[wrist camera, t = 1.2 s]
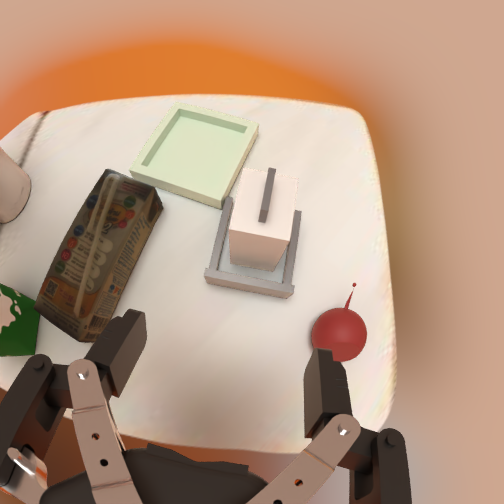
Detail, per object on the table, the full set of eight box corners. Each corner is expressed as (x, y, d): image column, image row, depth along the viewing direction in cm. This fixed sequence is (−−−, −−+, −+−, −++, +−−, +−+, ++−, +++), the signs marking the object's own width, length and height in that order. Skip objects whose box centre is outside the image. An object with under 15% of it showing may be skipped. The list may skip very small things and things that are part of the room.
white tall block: (230, 263, 34) (228, 216, 21) (240, 215, 36) (244, 150, 23) (272, 271, 34) (295, 230, 21) (280, 223, 36) (304, 162, 23)
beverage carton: (168, 207, 36) (156, 182, 30) (103, 346, 30) (76, 347, 24) (120, 188, 36) (102, 162, 30) (57, 316, 31) (27, 310, 25)
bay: (207, 283, 33) (203, 275, 29) (226, 201, 36) (225, 186, 32) (286, 298, 33) (293, 293, 29) (299, 216, 36) (306, 202, 33)
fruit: (351, 328, 35) (380, 287, 29) (353, 368, 30) (387, 332, 25) (306, 319, 35) (328, 276, 29) (303, 360, 31) (329, 322, 25)
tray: (134, 179, 37) (128, 169, 34) (178, 112, 40) (175, 101, 38) (221, 209, 36) (220, 200, 34) (257, 134, 40) (259, 123, 37)
